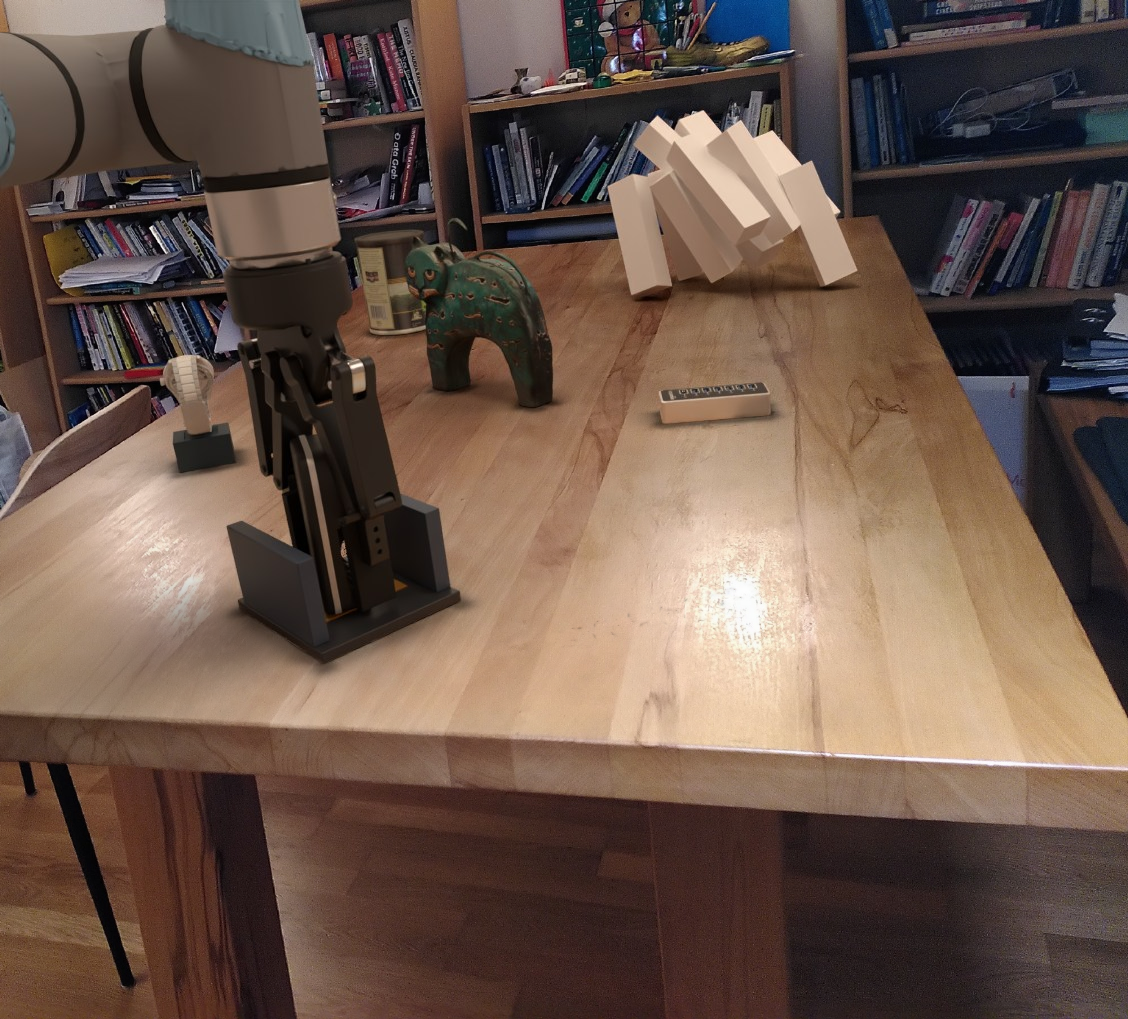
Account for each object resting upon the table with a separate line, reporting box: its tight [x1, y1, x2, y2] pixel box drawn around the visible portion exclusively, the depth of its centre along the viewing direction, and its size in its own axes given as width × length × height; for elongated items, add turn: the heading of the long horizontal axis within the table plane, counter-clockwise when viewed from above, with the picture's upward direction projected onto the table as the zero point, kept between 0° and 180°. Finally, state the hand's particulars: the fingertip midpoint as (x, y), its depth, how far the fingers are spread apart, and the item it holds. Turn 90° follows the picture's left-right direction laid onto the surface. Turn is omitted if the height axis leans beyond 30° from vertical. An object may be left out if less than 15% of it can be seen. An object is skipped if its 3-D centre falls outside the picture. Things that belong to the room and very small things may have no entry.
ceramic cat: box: [405, 217, 554, 408], centre depth 118 cm, size 20×6×20 cm, turn 45°
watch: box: [159, 354, 237, 474], centre depth 105 cm, size 6×8×11 cm
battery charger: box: [290, 433, 357, 615], centre depth 71 cm, size 7×4×11 cm, turn 19°
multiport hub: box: [658, 381, 772, 425], centre depth 107 cm, size 4×11×2 cm, turn 89°
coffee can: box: [354, 229, 426, 336], centre depth 158 cm, size 10×10×14 cm
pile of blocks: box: [607, 110, 858, 297], centre depth 165 cm, size 35×30×35 cm
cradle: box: [225, 493, 461, 664], centre depth 72 cm, size 12×11×7 cm
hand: (346, 586), depth 73 cm, fingers closed on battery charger, 7 cm apart
